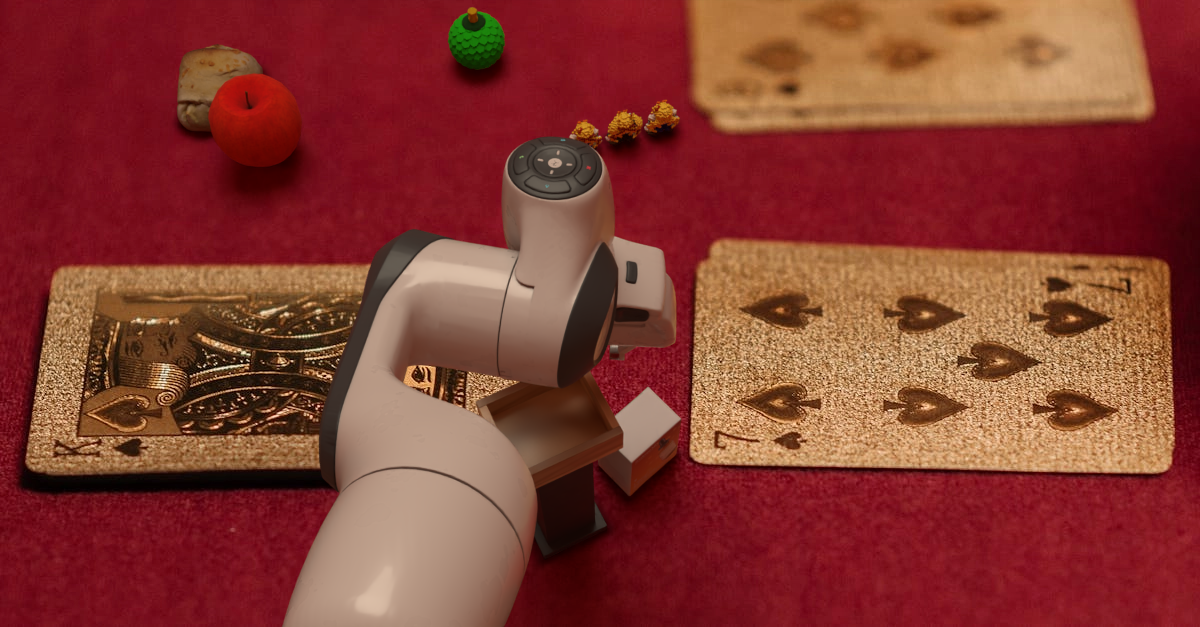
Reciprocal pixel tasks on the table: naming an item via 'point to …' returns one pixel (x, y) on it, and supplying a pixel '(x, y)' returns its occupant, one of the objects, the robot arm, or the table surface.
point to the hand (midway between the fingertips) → (568, 351)
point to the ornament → (476, 40)
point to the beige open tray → (554, 425)
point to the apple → (255, 120)
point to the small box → (643, 441)
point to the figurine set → (628, 126)
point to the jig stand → (567, 512)
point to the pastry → (208, 81)
